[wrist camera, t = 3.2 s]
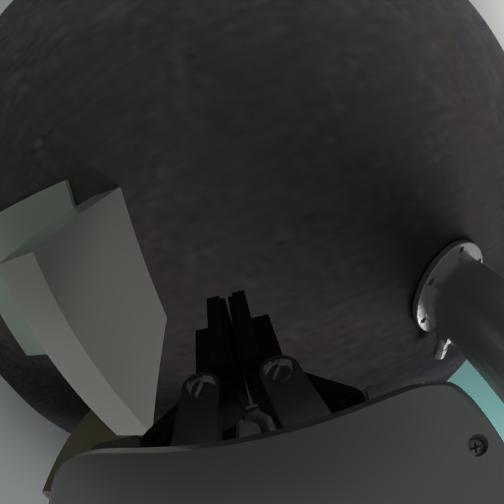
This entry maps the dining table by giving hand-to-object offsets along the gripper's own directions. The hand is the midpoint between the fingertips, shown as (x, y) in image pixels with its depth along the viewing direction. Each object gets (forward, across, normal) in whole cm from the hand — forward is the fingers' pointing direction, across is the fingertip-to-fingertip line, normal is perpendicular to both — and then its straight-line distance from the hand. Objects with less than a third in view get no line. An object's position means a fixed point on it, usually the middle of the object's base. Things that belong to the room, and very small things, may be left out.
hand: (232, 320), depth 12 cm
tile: (+10, +8, 0) cm, 13 cm away
